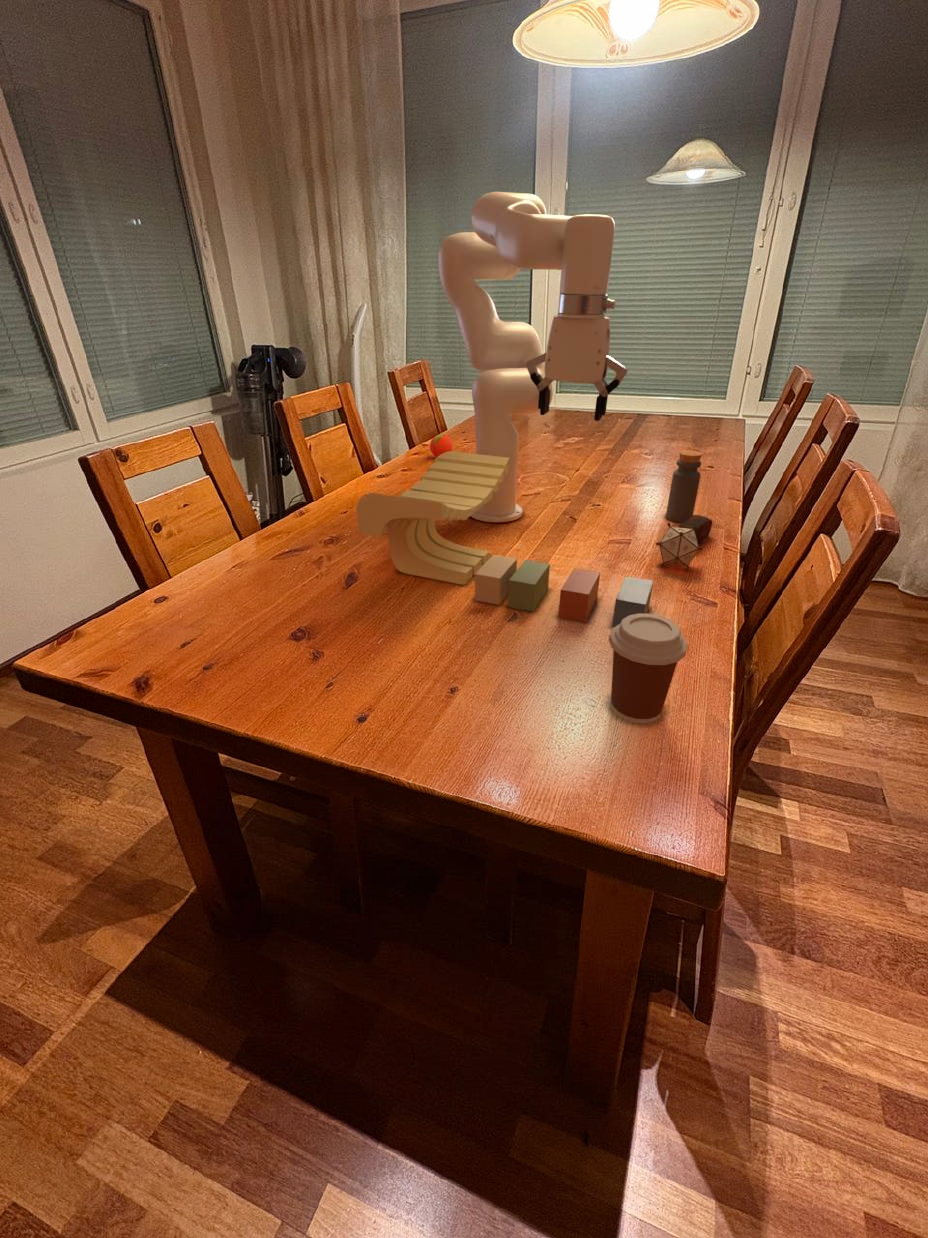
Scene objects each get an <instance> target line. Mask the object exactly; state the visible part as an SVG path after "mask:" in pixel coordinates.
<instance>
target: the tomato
mask: <svg viewBox="0 0 928 1238" xmlns="http://www.w3.org/2000/svg"><path fill="white" fill-rule="evenodd" d="M429 448H430V452H431V454H432V455H433V456H434V457H435V458H437V457H438V456H440V455H441V454H443V453H445V452H449V451H453V442H452V440H451V438H450V437H448V436H447V435H446V434H437V435H435V436H434V437H433V438H432V439H431V440H430V443H429Z"/></svg>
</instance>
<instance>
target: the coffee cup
mask: <svg viewBox="0 0 928 1238" xmlns="http://www.w3.org/2000/svg"><path fill="white" fill-rule="evenodd" d="M608 642H609V645H610V647H611V649H612V650H613V652H612V653H613V655H612V656H613V657H612V670H611V671H612V672H611V674H612V675H611V691H610V706H611V710H612V711H613V713H614V714H615V715H616V716H617V717H619V718H621V719H623V720H625V721H626V722H630V723H634V724H650V723H654V722H656V721H657V720H659V719H660V718H661V716H662V713H663V708H664V707H665V702H666V700H667V696H668V694H669V690H670V686H671V683H672V681H673V677H674V675H675V670H676V668H677V664H678V662H679V661H681V660H683V659H684V658H685V657H686V654H687V650H688V642H687V640H686V638H685V636H684V635H682V631H681V629H680V627H679V625H678V624H677V623H675V622H674V621H673V620H672V619H670V618H666V617H665V616H662V615H659V614H653V613H647V614H643V613H638V614H633V615H629V616H627V617H626V618H624V619H622V621H621V623H620V624H619V625H617V626H616V627H612V628H611V631H610V634H609V637H608Z"/></svg>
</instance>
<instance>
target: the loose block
mask: <svg viewBox="0 0 928 1238" xmlns="http://www.w3.org/2000/svg"><path fill="white" fill-rule="evenodd" d="M600 579H601V572H600V571H595V570H588V569H583V568H576V567H573V569H572V571H571V573H570V574H569V575H568V577H567V579H566V581H565V582H564V584H563V585H562V587H561V588H560V593H559V603H558V617H559V618H562V619H567V620H572V621H577V622H583V623H586V622H587V620H588V618H589V616H590V614H591V612H592V610H593V608H594V606H595V604H596V602H597V600H598V595H599V594H598V593H599V586H600Z"/></svg>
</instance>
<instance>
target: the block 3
mask: <svg viewBox="0 0 928 1238" xmlns="http://www.w3.org/2000/svg"><path fill="white" fill-rule="evenodd" d="M653 587H654V580H651V579H646V578H645V579H644V578H640V577H632V576H627V575H626V576H625V578H624V579H623V582H622V584H621V586H620V589H619V591H618V593H617V595H616V598H615V603H614V608H613V609H614V610H613V617H612V623H611V627H612V628H614V627H616V626H617V625H619V624H620V623H621V621H622V619H624V618H626V617H627V616H629V615H633V614H638V613H643V614H648V612H649V609H650V605H651V597H652V593H653Z"/></svg>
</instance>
